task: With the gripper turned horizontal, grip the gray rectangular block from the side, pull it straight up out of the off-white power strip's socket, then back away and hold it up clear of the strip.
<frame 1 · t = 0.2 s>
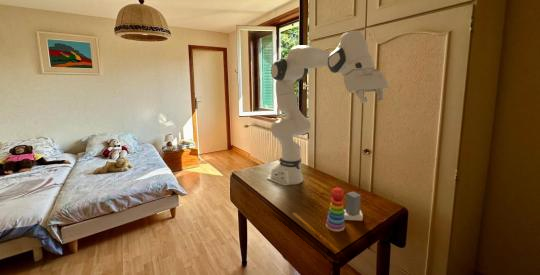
hand: (372, 101, 97), 54 cm above the table, tool tilted 25°, fingers open, 8 cm apart
stacking toy: (335, 228, 108), on the table
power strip: (348, 219, 114), on the table
gray rectangular block: (352, 216, 114), point 1 cm above the table, touching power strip
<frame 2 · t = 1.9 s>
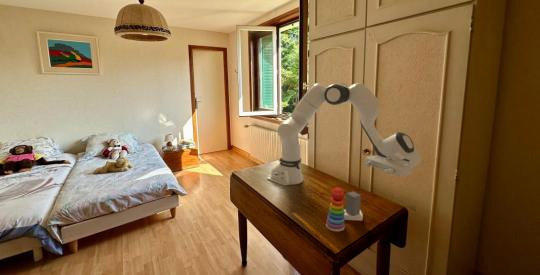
hand: (374, 168, 114), 22 cm above the table, tool horizontal, fingers open, 8 cm apart
nothing on the table moved.
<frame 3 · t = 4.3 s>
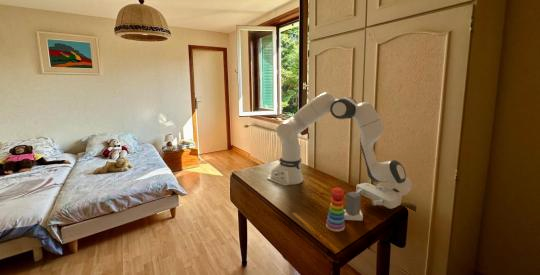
hand: (364, 198, 115), 8 cm above the table, tool horizontal, fingers open, 8 cm apart
nothing on the table moved.
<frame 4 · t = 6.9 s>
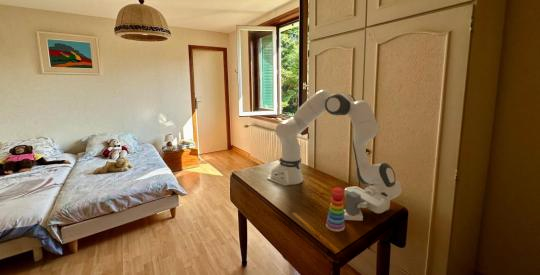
hand: (351, 202, 112), 9 cm above the table, tool horizontal, fingers closed on gray rectangular block, 4 cm apart
gray rectangular block: (352, 216, 114), point 1 cm above the table, touching gripper, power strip
everything else where it was.
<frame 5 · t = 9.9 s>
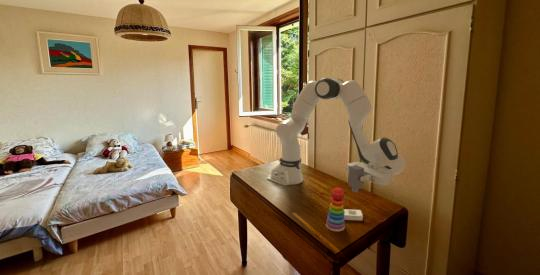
hand: (354, 176, 109), 21 cm above the table, tool horizontal, fingers closed on gray rectangular block, 4 cm apart
gray rectangular block: (355, 191, 111), point 14 cm above the table, touching gripper
everything else where it was.
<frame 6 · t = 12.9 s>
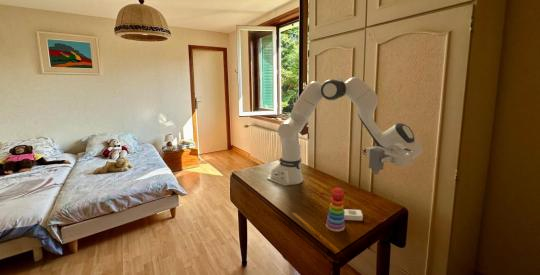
hand: (375, 158, 113), 27 cm above the table, tool horizontal, fingers closed on gray rectangular block, 4 cm apart
gray rectangular block: (375, 173, 115), point 20 cm above the table, touching gripper
everything else where it was.
at the end: the gripper is holding gray rectangular block; gray rectangular block point 19.7 cm above the table; gray rectangular block moved 22.5 cm from its start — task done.
